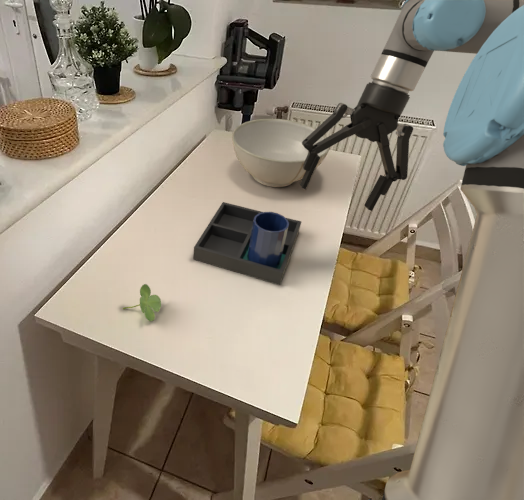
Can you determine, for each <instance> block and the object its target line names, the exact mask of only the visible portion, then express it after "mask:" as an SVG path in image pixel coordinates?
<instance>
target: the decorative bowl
mask: <svg viewBox="0 0 524 500" xmlns="http://www.w3.org/2000/svg"><path fill="white" fill-rule="evenodd" d="M315 129H316V128H315V127H313V126H311V125H308V124H306V123H302V122H298V121H294V120H289V119H281V118H259V119H253V120H248V121H245V122H242V123H241V124H239V125H238V126H236V127H235V128H234V129H233V131H232V133H231V142H232V147H233V151H234V154H235V155H236V159H237V160H238V162H239V163H240V165H241V166H242V168H243V169H244V170H245V172H247V173H248V174H249V175H251V176H252V178H253V179H254V180H255V181H256V183H259V184H261V185H263V186H266V187H272V188H283V187H288V186H290V185H291V184H293V183H295V182H298V181H300V180H302V178H303V176H304V174H305V172H306V170H304V169H303V164H304V162H305V159H306V157H307V155H308V150H307V149H306V148H304V146H303V145H302V142H303V140H304V139H306V138H307V137H308V136H309V135H310V134H311V133H312V132H313V131H314V130H315ZM327 137H328V136H326V134H324V135H323V136H322V137H321V138H320V139H319V140H318V141H317V142H316V143H318V142H320V141H322V140H323V139H325V138H327ZM316 143H314V144H313V145H315V144H316ZM330 149H331V147H329V148H327V149H326V150H324V151H322V152H320V153H319V154H317V155H318V156H319V157H320V159H319V162H318V164H317V166H316V168H315V170H316V169H317V168H318V167H319V166H320V165H321V164H322V162H323V161H324V160H325V158H326V157H327V155H328V153H329V152H330Z"/></svg>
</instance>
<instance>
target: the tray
mask: <svg viewBox="0 0 524 500" xmlns="http://www.w3.org/2000/svg"><path fill="white" fill-rule="evenodd" d="M262 212H263V211H260V210H257V209H253V208H249V207H244V206H241V205H237V204H233V203H229V202H226V201H225V202H224V201H222V202H221V204H220V205H219V207H218V209H217V210H216V212H215V213H214V215H213V216H212V218H211V219H210V221H209V223H208V224H207V226H206V227H205V229H204V231H203V232H202V234H201V235H200V237H199V238H198V240H197V242H196V243H195V245H193V257H192V259H193V260H194V261H198V262H202V263H204V264H208V265H211V266H214V267H218V268H222V269H224V270H228V271H231V272H234V273H237V274H240V275H245V276H247V277H251V278H255V279H258V280H262V281H265V282H268V283H270V284H271V283H272V284H275V285H278V286H281V284H282V281H283V279H284V275H285V272H286V269H287V267H288V264H289V261H290V259H291V256H292V252H293V250H294V247H295V245H296V241H297V240H298V239H297V238H298V236H299V233H300V229H301V225H302V220H301V221H300V220H297V219H293V218H288V217H285V218H286V219H287V220H288V222H289V226H288V231H287V235H286V239H285V243H284V248H283V252H282V256H281V260H280V264H279V267H278V268H277V269H276V268H273V267H269V266H266V265H262V264H259V263H255V262H252V261H248V260H247V256H248V250H249V244H250V238H251V232H252V226H253V220H254V217H255V216H256V215H257V214H259V213H262Z"/></svg>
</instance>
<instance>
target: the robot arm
mask: <svg viewBox="0 0 524 500" xmlns="http://www.w3.org/2000/svg"><path fill="white" fill-rule="evenodd" d="M436 51H437V52H447V53H448V52H449V53H460V54H475V55H474V57H473V59H472V60H471V62H470V64H469V65H468V67H467V68H466V71H465V72H464V74H463V76H462V78H461V80H460V82H459V84H458V86H457V88H456V90H455V92H454V95H453V98H452V100H451V103H450V106H449V109H448V111H447V115H446V119H445V122H444V127H443V134H442V135H443V137H444V140H443V143H442V147H443V152H444V154H445V156H446V157H447V158H448V159H449V160H450V161H452V162H453V163H455V164H456V165H458V166H461V167H465V168H464V172H463V176H462V181H461V184H460V191H461V192H462V194H463V195H464V196H465V197H466V199H467V200H468V201H469V202H470V204H471V205H472V206H473V208H474V210H475V213H476V215H475V220H474V224H473V227H472V230H471V231H472V232H471V235H470V239H469V243H468V246H467V250H466V255H465V257H464V262H463V266H462V269H461V274H460V277H459V281H458V285H457V289H456V292H455V297H454V300H453V304H452V308H451V311H450V316H449V318H448V323H447V326H446V331H445V335H444V339H443V341H442V342H443V343H442V347H441V350H440V354H439V357H438V361H437V365H436V368H435V373H434V377H433V381H432V384H431V388H430V392H429V396H428V399H427V403H426V407H425V411H424V413H423V414H424V415H423V419H422V423H421V427H420V429H419V434H418V438H417V441H416V444H415V449H414V453H413V456H412V460H411V465H410V468H409V469H408V470H402V471H400V472H397V473H394V474H393V475H391V476H390V477H389V478H388V479H387V480H386V483H385V487H384V490H383V495H382V498H381V500H524V0H405V1H404V2H403V4H402V6H401V10H400V12H399V15H398V17H397V18H396V22H395V23H394V25H393V28H392V30H391V31H390V34H389V36H388V39H387V41H386V43H385V45H384V47H383V50H382V52H381V53H380V55H379V58H378V60H377V62H376V64H375V65H374V68H373V70H372V72H371V75H370V79H371V82H368V83H366V85H365V86H364V90H363V91H362V93H361V96H360V98H359V100H358V102H357V105H356V106H355V107H354V108H352V107H350V106H348V105H347V104H345V103H343V102H339V103H338V104H337V105H336V107H335V108H334V111H333V112H332V113H331V114H330V115H329V117H327V118H326V119H325V120H324V121H323V122H322V123H320V124H319V126H318V127H316V128H315V130H314V131H313V132H312V133H311V134H310V135H309V136H308V137H307V138H306V139H304V140H303V142H302V145H303V146H304V148H306V149H307V150H308V155H307V157H306V159H305V162H304V164H303V169H304V170H306V172H305V174H304V176H303V178H302V179H301V181H300V183H299V186H300V188H301V189H302V190H305V191H306V190H307V188H308V187H309V185H310V181H311V180H312V177H313V175H314V173H315V171H316V169H317V168H316V166H317V164H318V162H319V159H320V157H319V156H318V155H317V154H319V153H320V152H322V151H324V150H326V149H327V148H329V147H330V148H331V147H333V146H335V145H336V144H338V143H340V142H342V141H344V140H345V139H348V138H349V137H352V136H354V135H355V136H356V137H357V138H361V139H366V140H368V141H370V142H372V143H375V142H376V145H377V147H378V151H379V155H380V159H381V163H382V167H383V170H384V175H382V174H380V175H379V176H378V178H377V180H376V182H375V184H374V186H373V188H372V190H371V192H370V193H369V195H368V197H367V199H366V201H365V203H364V207H365V208H366V209H367V210H368V211H371V212H373V210H374V208H375V206H376V204H377V203H378V201H379V199H380V197H381V196H385V195H387V194H388V192H389V189H390V188H391V186H392V184H393V183H394V182H397V181H398V180H402V181H405V180H407V178H408V171H409V153H410V138H411V136H412V134H413V131H414V127H413V126H412V125H409V124H407V123H403V124H402V123H399V119H400V117H401V116H402V114H403V112H404V110H405V108H406V107H407V104H408V102H409V101H410V99H411V97H410V94H409V92H414V91H415V89H416V87H417V85H418V83H419V81H420V79H421V77H422V75H423V73H424V71H425V69H426V67H427V65H428V64H429V61H430V59H431V57H432V56H433V54H434V52H436ZM347 116H349V118H350V123H348V124H345V126H343V127H342V128H341V129H339V130H337V131H336V132H334V133H332V134H331V135H329V136H326V137H327V138H325V139H323V140H322V141H320V142H318V143H316V142H317V141H318V140H319V139H320V138H321V137H322V136H323V135H326V134H327V133H329V132H330V131H331V129H333V127H334V126H336V125H337V124H338V123H339V122H340V121H341V120H342V119H345V118H347ZM395 131H396V132H395ZM393 132H395V135H396V136H397V138H396V157H395V158H396V161H395V163H396V164H395V163H394V160H393V156H392V152H391V147H390V145H391V144H390V139H389V135H390V134H392V133H393ZM314 143H316V144H315V145H313V144H314ZM315 168H316V169H315ZM368 500H371V499H368Z"/></svg>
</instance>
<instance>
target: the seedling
mask: <svg viewBox="0 0 524 500" xmlns="http://www.w3.org/2000/svg"><path fill="white" fill-rule="evenodd" d="M151 293H152V291H151V288H150V286H149V285H148V284H147V283H145V284H142V286H140V289H139V295H140V298H139V304H136V305H132V306H126V307H122V309H123V310H125V309H133V308H136V307H140V310H141V313H142V314H144V317H145V319H146V320H147V321H148V322H153V321H155V319H156V315H155V312H156V313H158V312H160V309H161V307H162V301H161V298H160V296H159V295H158V294H151Z"/></svg>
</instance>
